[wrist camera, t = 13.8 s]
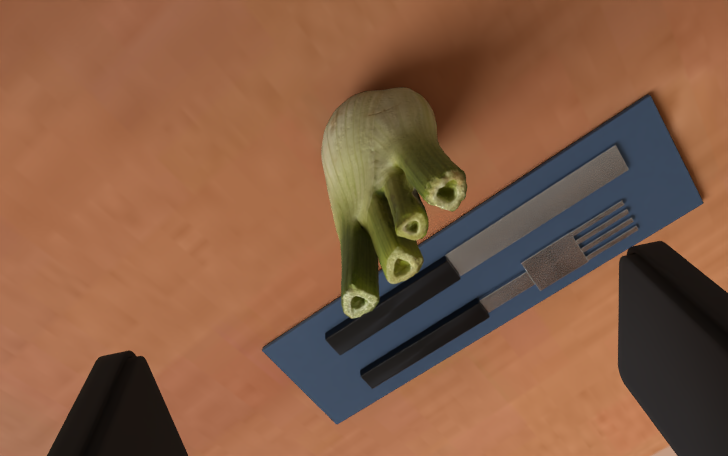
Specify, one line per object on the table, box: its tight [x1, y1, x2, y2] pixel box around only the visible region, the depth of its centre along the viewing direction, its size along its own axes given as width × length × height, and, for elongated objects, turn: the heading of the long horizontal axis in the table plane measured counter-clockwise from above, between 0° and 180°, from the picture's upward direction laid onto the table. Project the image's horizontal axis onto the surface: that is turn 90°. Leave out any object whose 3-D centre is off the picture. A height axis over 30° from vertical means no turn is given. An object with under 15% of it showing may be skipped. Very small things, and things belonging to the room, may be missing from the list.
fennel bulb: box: [321, 87, 467, 319], centre depth 23 cm, size 6×5×12 cm
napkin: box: [262, 95, 703, 424], centre depth 32 cm, size 24×7×1 cm, turn 126°
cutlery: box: [325, 144, 638, 389], centre depth 31 cm, size 18×5×1 cm, turn 126°
